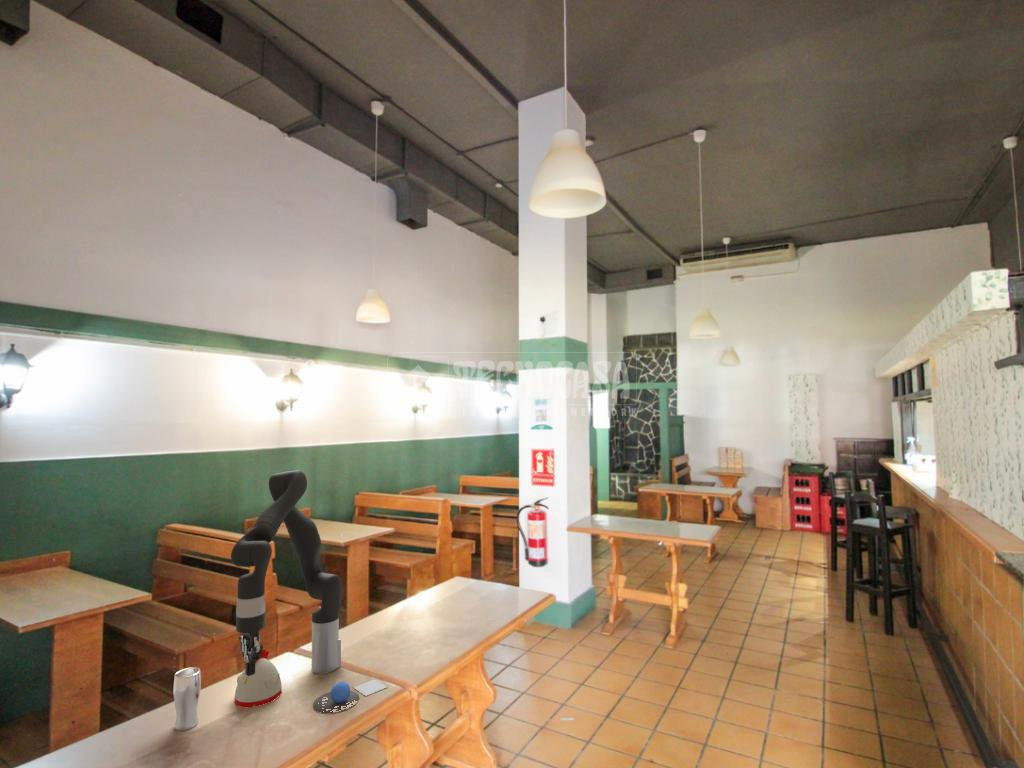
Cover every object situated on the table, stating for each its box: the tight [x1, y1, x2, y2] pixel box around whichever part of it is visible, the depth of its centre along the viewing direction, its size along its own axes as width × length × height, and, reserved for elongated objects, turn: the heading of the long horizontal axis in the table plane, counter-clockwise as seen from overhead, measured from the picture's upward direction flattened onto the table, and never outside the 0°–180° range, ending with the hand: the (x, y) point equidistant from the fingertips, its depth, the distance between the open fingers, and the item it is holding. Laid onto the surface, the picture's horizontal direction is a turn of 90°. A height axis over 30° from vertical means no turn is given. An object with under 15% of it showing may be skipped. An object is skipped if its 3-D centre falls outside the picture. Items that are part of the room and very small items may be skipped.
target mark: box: [312, 689, 360, 714], centre depth 169 cm, size 14×14×1 cm
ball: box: [330, 681, 351, 704], centre depth 169 cm, size 6×6×6 cm
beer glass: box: [172, 667, 202, 732], centre depth 158 cm, size 7×7×15 cm
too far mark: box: [353, 679, 388, 697], centre depth 178 cm, size 8×8×1 cm
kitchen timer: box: [234, 649, 283, 708], centre depth 174 cm, size 14×14×15 cm
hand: (250, 674), depth 152 cm, fingers closed
